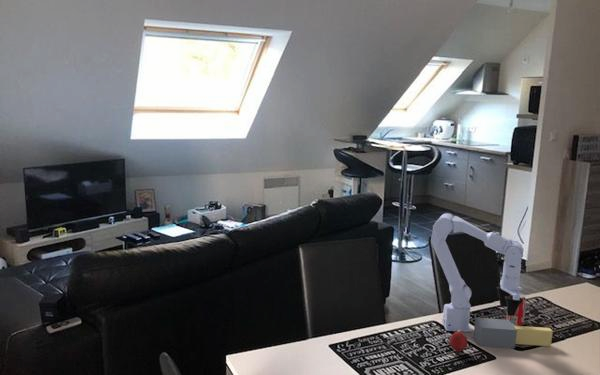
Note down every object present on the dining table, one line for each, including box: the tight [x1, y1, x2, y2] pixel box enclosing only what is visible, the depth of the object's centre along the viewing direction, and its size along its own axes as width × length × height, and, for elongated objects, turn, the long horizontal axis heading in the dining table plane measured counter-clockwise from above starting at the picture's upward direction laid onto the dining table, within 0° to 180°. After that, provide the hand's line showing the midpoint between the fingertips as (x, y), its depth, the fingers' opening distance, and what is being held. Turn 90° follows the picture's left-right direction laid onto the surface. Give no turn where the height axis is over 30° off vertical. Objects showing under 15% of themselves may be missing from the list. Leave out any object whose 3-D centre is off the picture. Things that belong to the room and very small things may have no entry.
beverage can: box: [505, 292, 527, 326], centre depth 186 cm, size 6×6×12 cm
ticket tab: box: [515, 325, 554, 347], centre depth 171 cm, size 16×2×6 cm, turn 86°
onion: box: [449, 330, 468, 353], centre depth 164 cm, size 6×6×8 cm
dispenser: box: [473, 317, 517, 349], centre depth 172 cm, size 12×8×7 cm, turn 86°
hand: (507, 310), depth 174 cm, fingers open, 7 cm apart
